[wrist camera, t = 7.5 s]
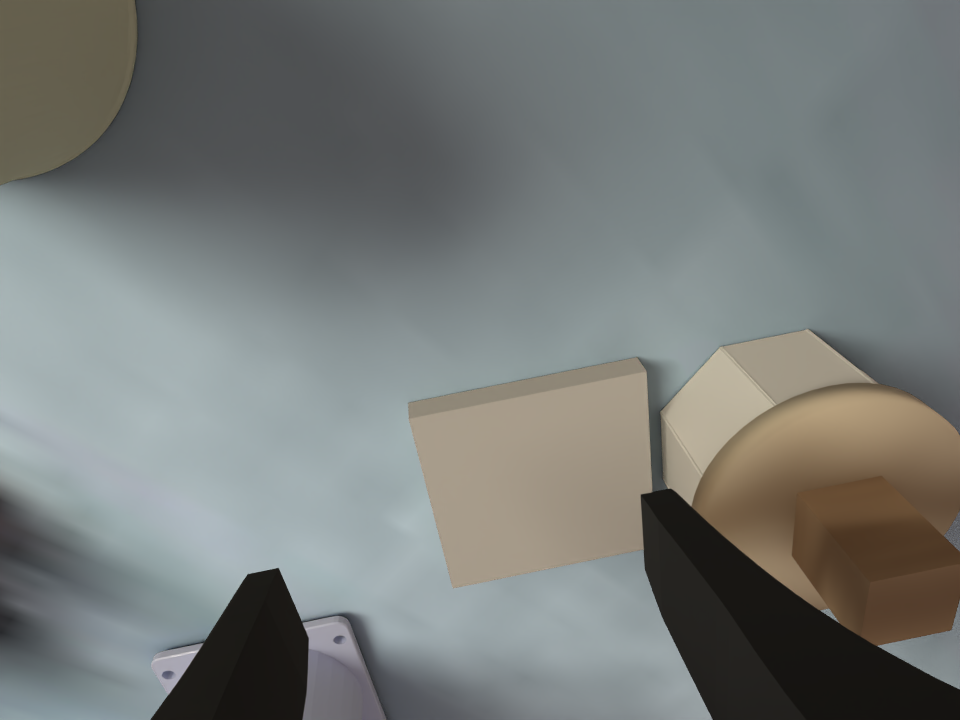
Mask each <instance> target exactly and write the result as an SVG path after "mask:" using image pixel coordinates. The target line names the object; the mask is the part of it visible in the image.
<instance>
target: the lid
mask: <svg viewBox="0 0 960 720" xmlns="http://www.w3.org/2000/svg"><path fill="white" fill-rule="evenodd" d="M691 507H692V508H693V509H694V510H696V511H697V512H698V513H699V514H700V515H701V516H702V517H703V518H704V519H705V520H706V521H707V522H708V523H710V524H711V525H712V526H713V527H714V528H715V529H716V530H717V531H718V532H720V533H721V534H722V535H723V536H724V537H725V538H726V539H728V540H729V541H730V542H731V543H732V544H733V545H735V546H736V547H737V548H738V549H739V550H741V551H742V552H743V553H744V554H745V555H747V556H748V557H749V558H750V559H752V560H753V561H754V562H755V563H756V564H758V565H759V566H760V567H761V568H763V569H764V570H765V571H766V572H768V573H769V574H770V575H772V576H773V577H774V578H775V579H777V580H778V581H779V582H781V583H782V584H783V585H785V586H786V587H787V588H789V589H790V590H792V591H793V592H794V593H796V594H797V595H798V596H800V597H801V598H803V599H804V600H805V601H807V602H808V603H810V604H811V605H813V606H814V607H815V608H817V609H818V610H824V609H828V608H829V609H830V610H831V612H832V613H833V614H834V616H835V617H836V619H837V620H838V621H839V623H840V624H841V625H843V626H844V627H846V628H847V629H849V630H851V631H852V632H854V633H856V634H857V635H859V636H861V637H862V638H864V639H866V640H867V641H869V642H870V643H872V644H874V645H876V646H878V645H882V644H887V643H892V642H897V641H902V640H906V639H911V638H916V637H921V636H926V635H931V634H935V633H940V632H945V631H950V630H951V629H952V626H953V622H954V618H955V615H956V611H957V607H958V604H959V600H960V552H959V551H958V550H957V549H956V548H955V547H954V546H953V545H952V544H951V543H950V542H949V541H948V540H947V539H946V538H945V537H944V535H945V533H946V532H947V531H948V529H949V528H950V526H951V524H952V523H953V521H954V520H955V518H956V516H957V514H958V512H959V510H960V435H959V434H958V432H957V431H956V429H955V428H954V427H953V426H952V425H951V424H950V423H949V422H948V421H947V420H946V419H944V418H943V417H942V416H941V415H939V414H938V413H937V412H935V411H934V410H933V409H931V408H930V407H929V406H927V405H926V404H925V403H923V402H922V401H921V400H919V399H918V398H916V397H914V396H913V395H911V394H910V393H907V392H905V391H903V390H900V389H898V388H895V387H890V386H886V385H882V384H873V383H845V384H838V385H831V386H826V387H823V388H819V389H815V390H811V391H808V392H805V393H803V394H800V395H797V396H794V397H792V398H790V399H788V400H786V401H784V402H782V403H780V404H777V405H775V406H774V407H772V408H770V409H769V410H767V411H765V412H764V413H762V414H760V415H759V416H757V417H756V418H755V419H753V420H752V421H751V422H749V423H748V424H747V425H745V426H744V427H743V428H742V429H740V430H739V431H738V432H737V433H736V434H735V435H734V436H733V437H732V438H731V439H729V440H728V442H727V443H726V444H725V445H724V446H723V447H722V448H721V449H720V451H719V452H718V453H717V454H716V455H715V457H714V458H713V460H712V461H711V462H710V464H709V465H708V467H707V468H706V470H705V472H704V474H703V476H702V478H701V479H700V481H699V484H698V486H697V489H696V491H695V494H694V498H693V502H692V506H691Z"/></svg>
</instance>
